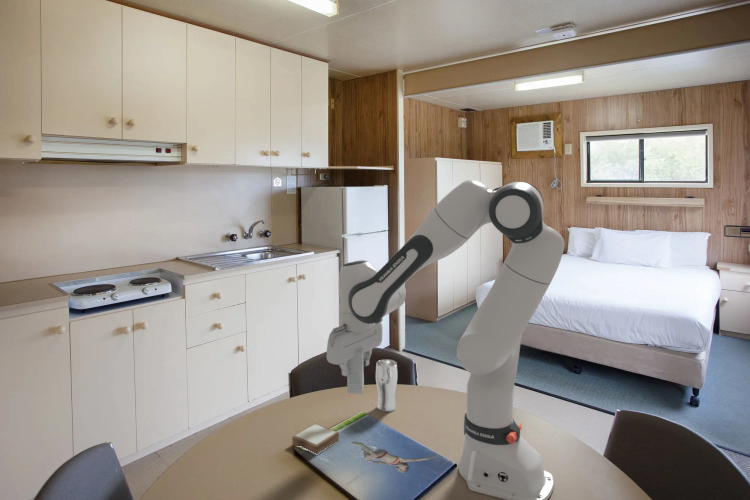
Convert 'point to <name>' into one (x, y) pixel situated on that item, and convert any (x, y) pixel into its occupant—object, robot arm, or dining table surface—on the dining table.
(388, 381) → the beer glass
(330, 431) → the plinth
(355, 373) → the skincare box
